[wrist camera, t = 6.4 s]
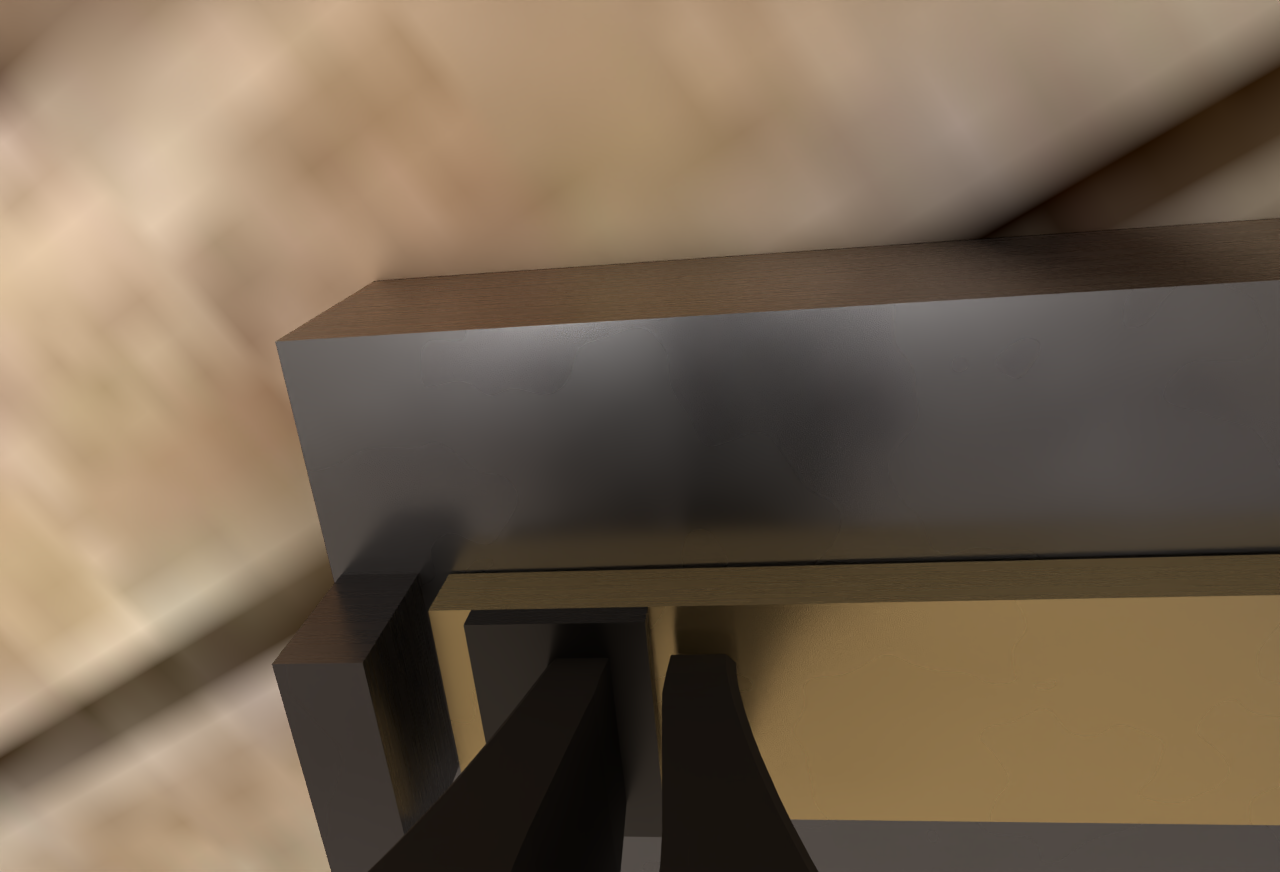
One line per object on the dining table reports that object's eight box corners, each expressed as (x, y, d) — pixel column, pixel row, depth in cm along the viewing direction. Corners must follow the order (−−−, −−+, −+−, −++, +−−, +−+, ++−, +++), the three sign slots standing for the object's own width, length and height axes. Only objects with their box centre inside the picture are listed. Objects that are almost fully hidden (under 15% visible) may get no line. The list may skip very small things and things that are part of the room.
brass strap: (1563, 547, 10) (1658, 605, 9) (1489, 775, 11) (1568, 849, 10) (449, 574, 11) (419, 626, 10) (486, 769, 12) (462, 834, 11)
